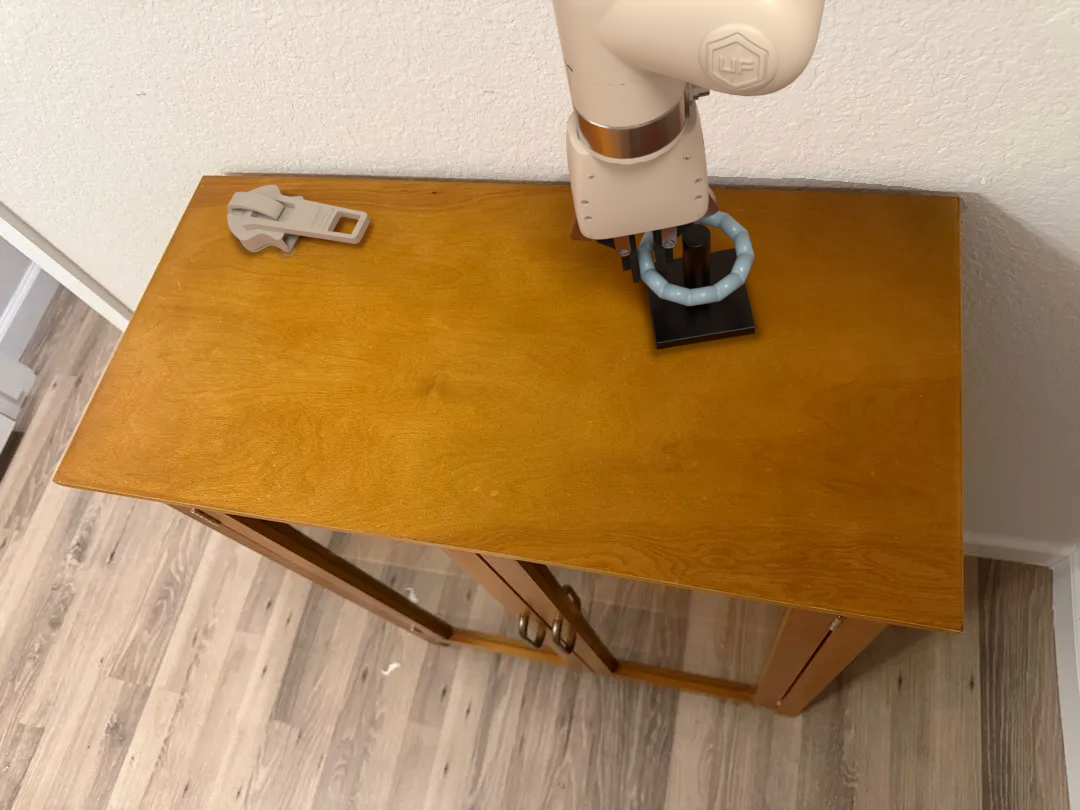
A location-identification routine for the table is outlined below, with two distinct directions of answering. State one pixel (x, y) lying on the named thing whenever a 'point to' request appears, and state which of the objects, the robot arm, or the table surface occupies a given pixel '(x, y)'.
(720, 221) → the ring
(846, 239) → the table surface
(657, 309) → the post
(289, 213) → the zipper pull
